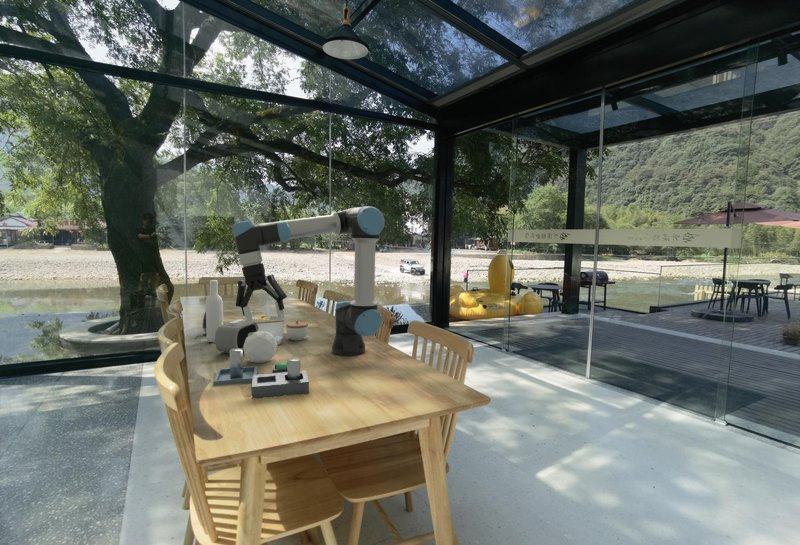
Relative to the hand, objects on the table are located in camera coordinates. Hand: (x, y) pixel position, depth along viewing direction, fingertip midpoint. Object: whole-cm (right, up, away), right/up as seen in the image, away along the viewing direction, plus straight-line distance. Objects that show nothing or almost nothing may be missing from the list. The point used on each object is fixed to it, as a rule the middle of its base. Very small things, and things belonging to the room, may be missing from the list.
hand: (265, 321), depth 152 cm
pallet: (+8, -22, -9) cm, 25 cm away
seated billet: (+12, -22, -8) cm, 26 cm away
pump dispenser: (-50, -15, +70) cm, 87 cm away
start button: (+5, -19, +4) cm, 20 cm away
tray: (-11, -21, +1) cm, 24 cm away
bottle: (-42, -16, +55) cm, 71 cm away
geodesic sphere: (-9, -19, +21) cm, 30 cm away
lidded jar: (-3, -16, +61) cm, 63 cm away
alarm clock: (-25, -18, +39) cm, 50 cm away
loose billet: (-11, -20, +1) cm, 23 cm away
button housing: (+5, -21, +4) cm, 22 cm away
